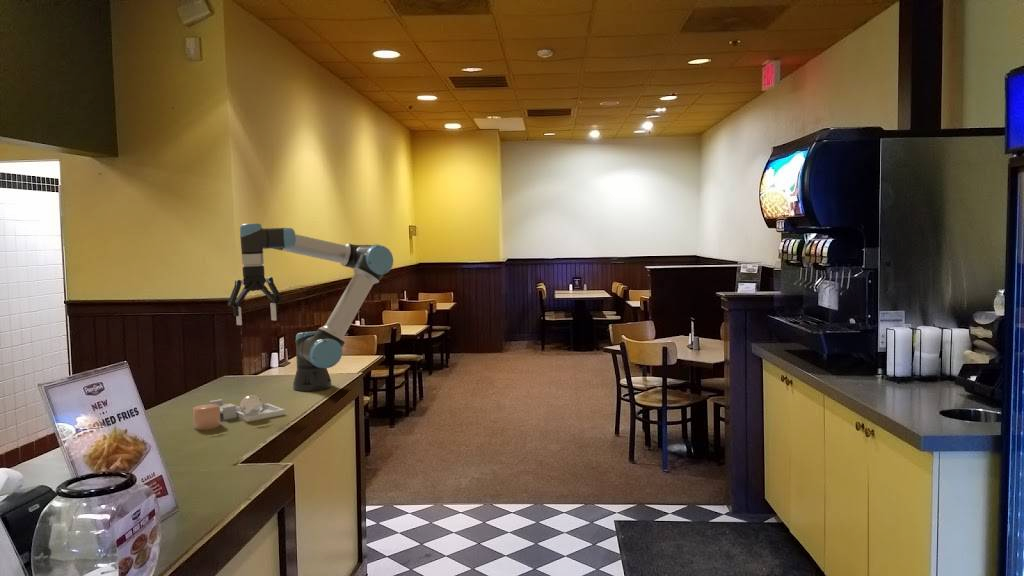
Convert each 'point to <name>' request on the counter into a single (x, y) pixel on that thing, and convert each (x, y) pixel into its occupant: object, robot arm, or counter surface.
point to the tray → (262, 413)
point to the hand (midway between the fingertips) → (257, 322)
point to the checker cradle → (226, 411)
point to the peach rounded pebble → (206, 417)
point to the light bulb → (252, 405)
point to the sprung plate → (228, 405)
